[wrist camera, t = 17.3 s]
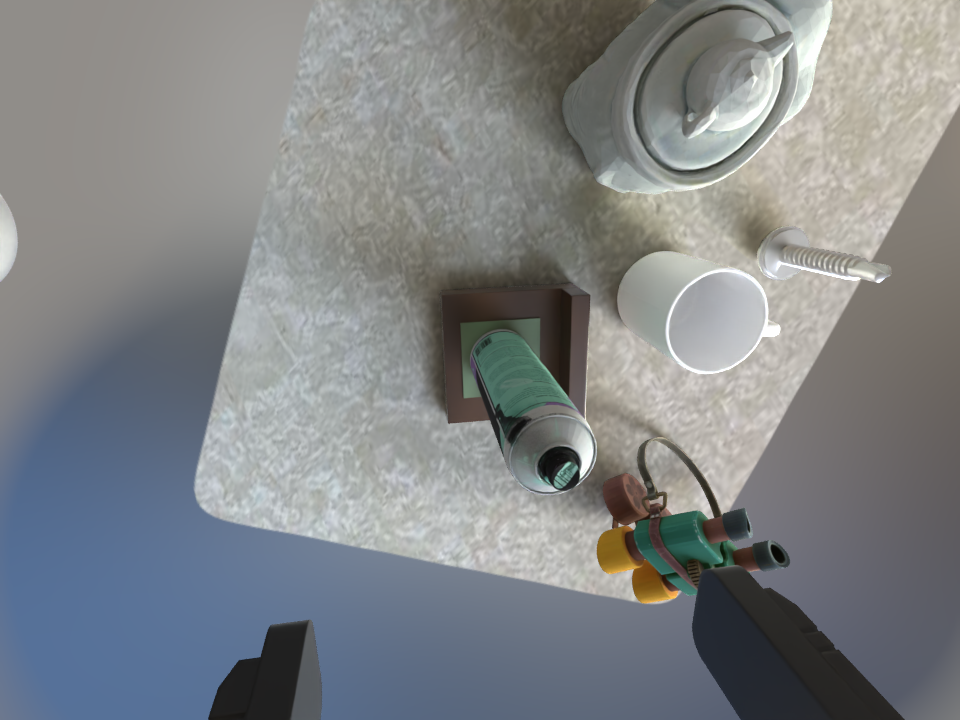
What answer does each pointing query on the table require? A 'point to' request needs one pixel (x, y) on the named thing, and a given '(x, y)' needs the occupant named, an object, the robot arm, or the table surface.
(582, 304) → the brown wooden square frame
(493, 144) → the table surface
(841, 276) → the screw
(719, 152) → the teapot
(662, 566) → the binoculars
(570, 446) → the spray can
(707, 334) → the cup
